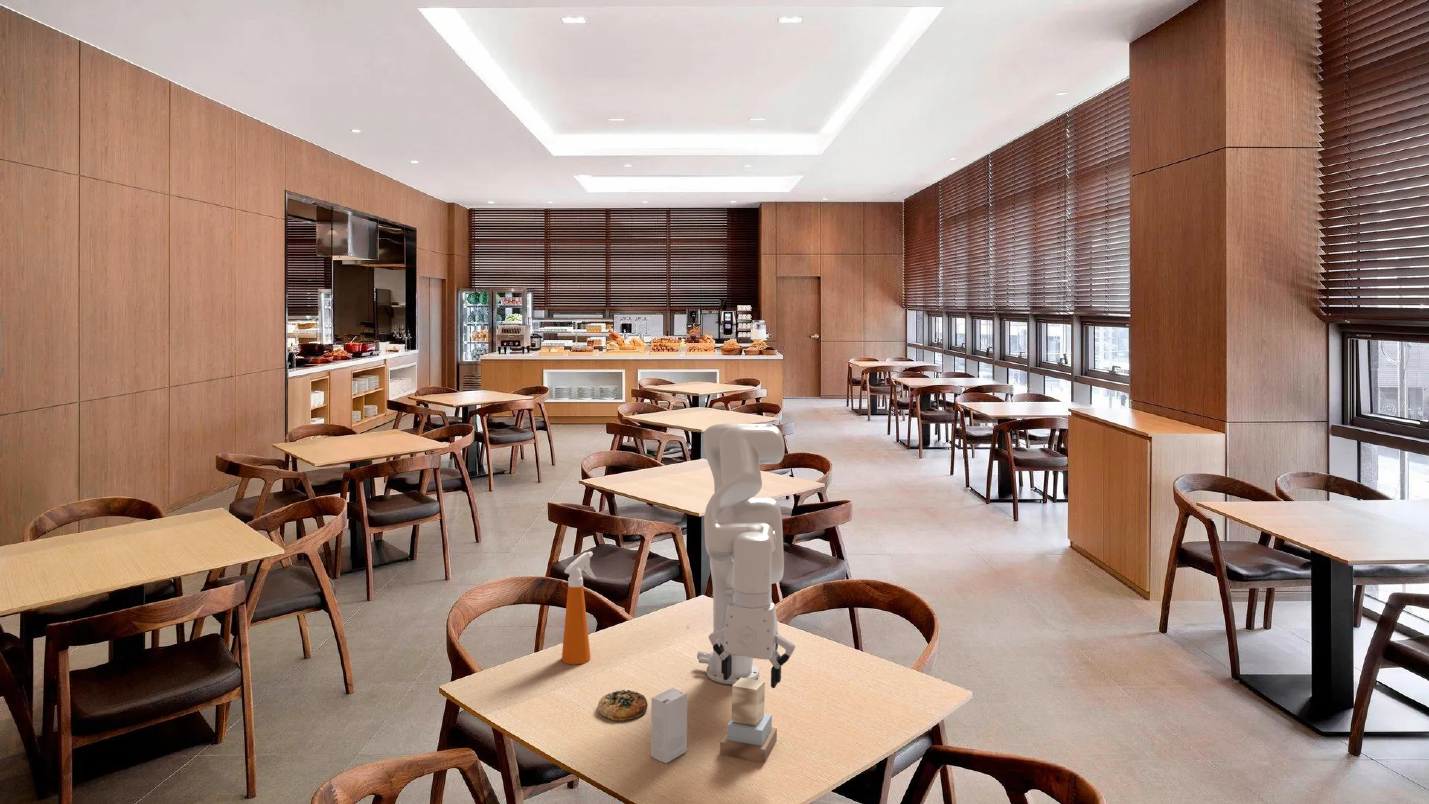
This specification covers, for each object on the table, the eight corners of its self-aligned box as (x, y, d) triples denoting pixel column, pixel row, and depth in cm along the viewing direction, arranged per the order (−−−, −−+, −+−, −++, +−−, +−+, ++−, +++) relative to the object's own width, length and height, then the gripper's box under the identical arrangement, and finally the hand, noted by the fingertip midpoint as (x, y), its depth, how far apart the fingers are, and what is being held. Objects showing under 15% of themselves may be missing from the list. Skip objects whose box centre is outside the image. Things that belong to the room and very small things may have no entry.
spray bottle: (606, 653, 207) (606, 551, 205) (576, 667, 198) (575, 561, 196) (586, 647, 211) (585, 547, 209) (555, 660, 203) (554, 556, 200)
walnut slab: (719, 756, 158) (719, 742, 157) (733, 735, 166) (733, 721, 166) (764, 765, 155) (765, 749, 155) (776, 742, 163) (776, 728, 163)
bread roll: (656, 702, 180) (654, 682, 179) (635, 732, 169) (632, 710, 168) (611, 697, 183) (608, 676, 182) (587, 725, 173) (585, 704, 172)
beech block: (731, 721, 159) (732, 685, 159) (740, 712, 164) (741, 677, 163) (755, 725, 157) (756, 689, 157) (764, 716, 162) (764, 681, 162)
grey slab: (727, 740, 158) (727, 725, 158) (738, 724, 165) (738, 709, 165) (762, 745, 156) (762, 730, 156) (771, 729, 163) (771, 714, 162)
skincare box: (671, 745, 161) (671, 686, 160) (688, 752, 158) (688, 692, 157) (649, 757, 156) (649, 696, 155) (666, 765, 154) (666, 703, 153)
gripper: (703, 597, 157) (702, 682, 159) (790, 609, 152) (789, 696, 153) (716, 585, 164) (715, 666, 166) (800, 596, 159) (798, 680, 161)
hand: (750, 681), depth 160 cm, fingers open, 9 cm apart
